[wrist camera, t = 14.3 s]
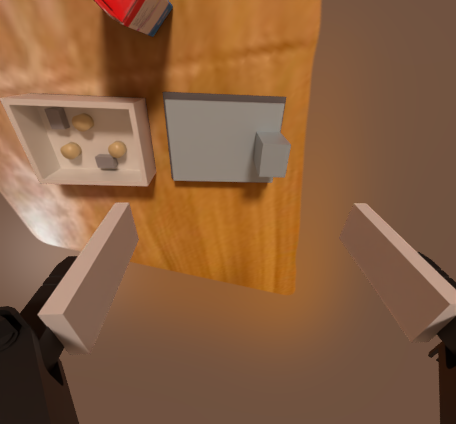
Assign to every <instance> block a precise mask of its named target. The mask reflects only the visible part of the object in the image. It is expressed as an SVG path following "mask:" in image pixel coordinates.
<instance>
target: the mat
mask: <svg viewBox="0 0 456 424" xmlns="http://www.w3.org/2000/svg"><path fill="white" fill-rule="evenodd" d="M166 99H173V100H202V101H230V102H258V103H284V104H285V102H286V97H274V96H251V95H227V94H203V93H179V92H163V100H164V109H165V119H166V128H167V137H168V146H169V156H170V165H171V174H172V178H173V169H172V160H171V150H170V141H169V132H168V123H167V114H166V105H165V100H166ZM284 108H285V105H284ZM283 114H284V111H283ZM282 120H283V117H282ZM281 126H282V123H281ZM280 132H281V130H280ZM272 181H273V180H272Z"/></svg>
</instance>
